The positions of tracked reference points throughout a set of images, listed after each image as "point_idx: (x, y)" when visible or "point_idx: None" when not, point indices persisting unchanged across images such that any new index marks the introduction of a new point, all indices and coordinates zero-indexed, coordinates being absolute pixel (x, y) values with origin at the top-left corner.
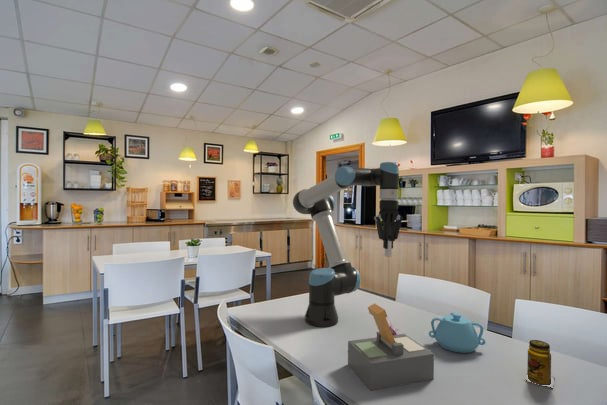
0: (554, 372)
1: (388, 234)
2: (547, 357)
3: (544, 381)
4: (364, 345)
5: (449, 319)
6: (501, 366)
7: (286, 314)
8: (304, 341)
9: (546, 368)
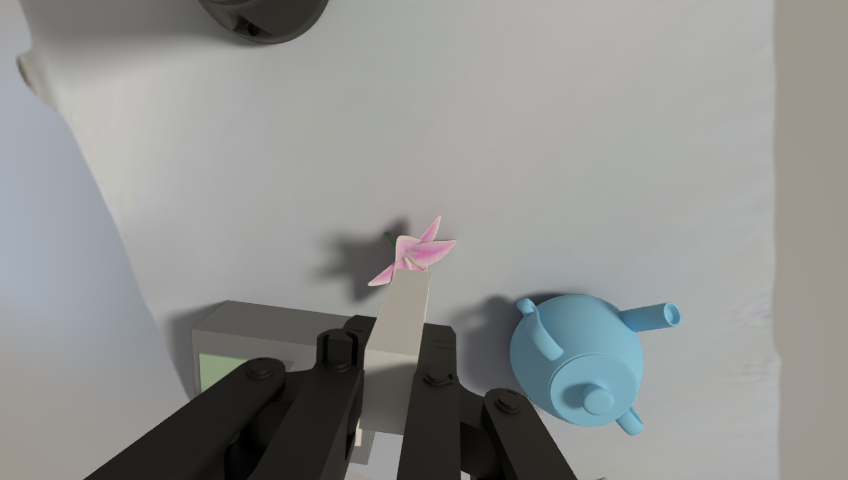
0: None
1: (404, 433)
2: None
3: None
4: (219, 372)
5: (566, 383)
6: (569, 445)
7: None
8: (152, 130)
9: None
